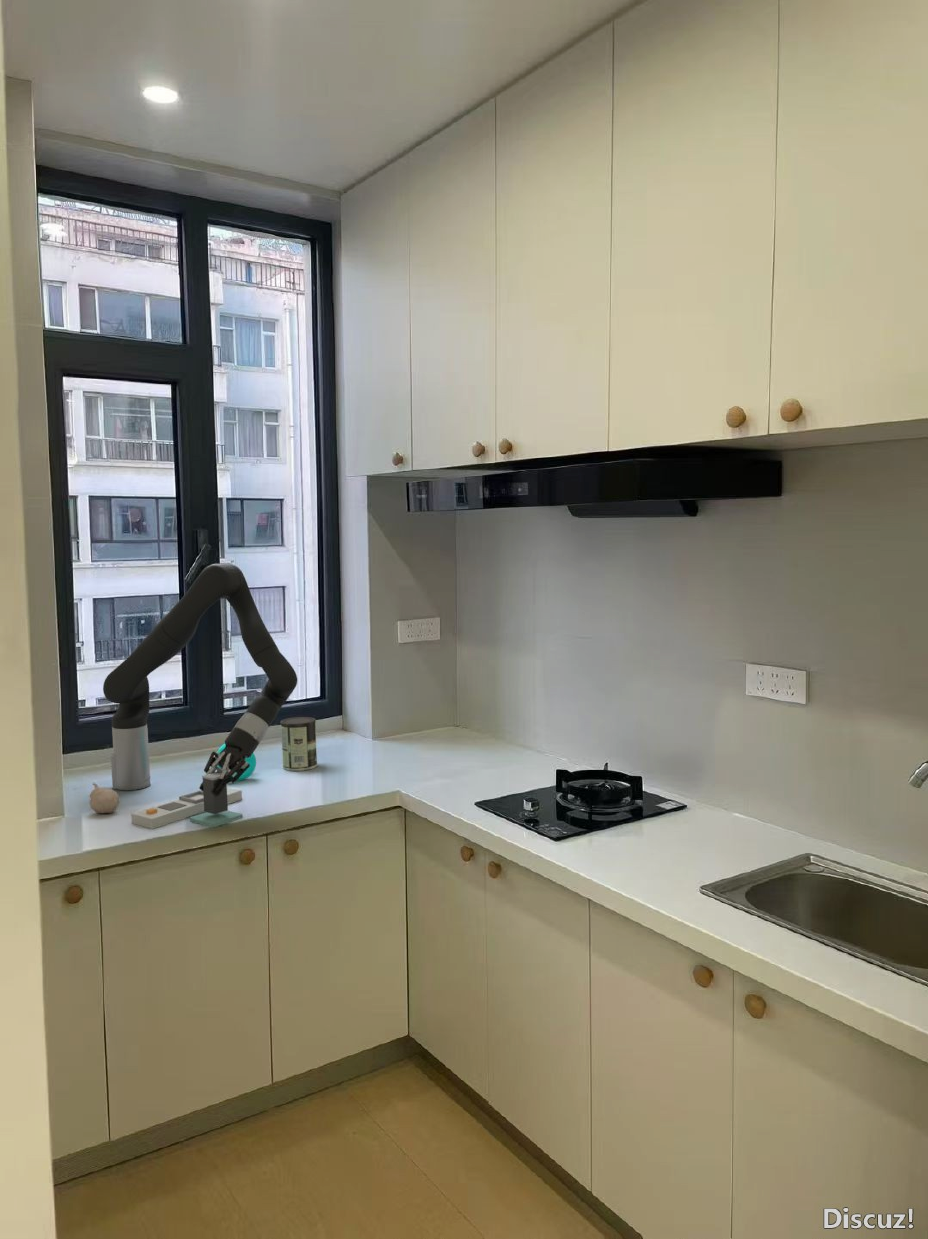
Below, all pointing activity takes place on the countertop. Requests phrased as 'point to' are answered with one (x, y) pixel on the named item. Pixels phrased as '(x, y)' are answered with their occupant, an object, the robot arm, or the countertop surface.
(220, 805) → the block
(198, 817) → the pad
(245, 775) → the donuts
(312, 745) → the coffee can
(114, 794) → the garlic bulb
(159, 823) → the strip
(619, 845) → the countertop surface
